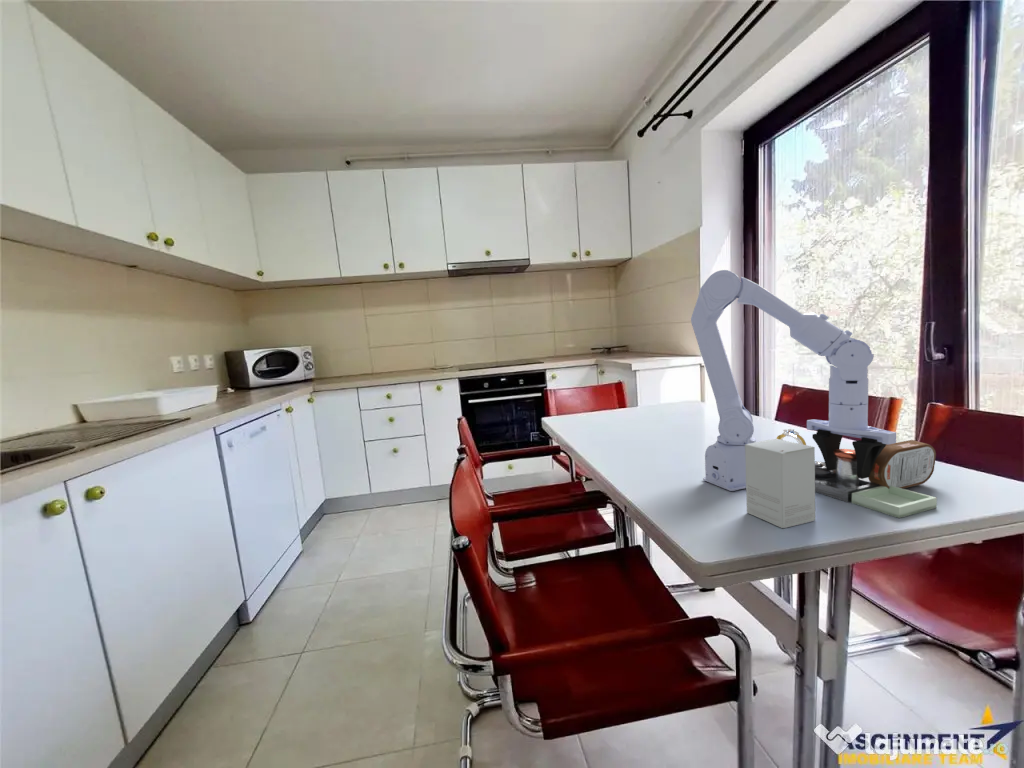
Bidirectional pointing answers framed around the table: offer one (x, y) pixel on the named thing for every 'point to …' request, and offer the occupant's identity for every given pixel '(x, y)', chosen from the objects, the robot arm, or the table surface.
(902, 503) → the tray
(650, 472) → the table surface
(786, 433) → the ring
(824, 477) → the tensioner block
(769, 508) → the supplement box
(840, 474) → the jar with copper lid
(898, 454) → the tin
